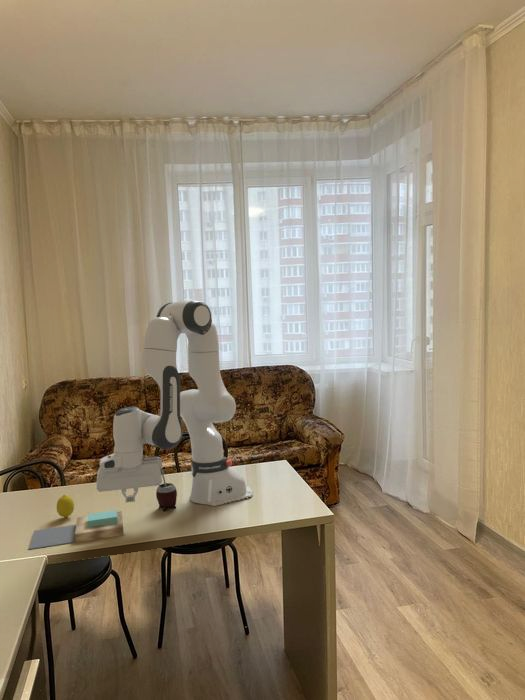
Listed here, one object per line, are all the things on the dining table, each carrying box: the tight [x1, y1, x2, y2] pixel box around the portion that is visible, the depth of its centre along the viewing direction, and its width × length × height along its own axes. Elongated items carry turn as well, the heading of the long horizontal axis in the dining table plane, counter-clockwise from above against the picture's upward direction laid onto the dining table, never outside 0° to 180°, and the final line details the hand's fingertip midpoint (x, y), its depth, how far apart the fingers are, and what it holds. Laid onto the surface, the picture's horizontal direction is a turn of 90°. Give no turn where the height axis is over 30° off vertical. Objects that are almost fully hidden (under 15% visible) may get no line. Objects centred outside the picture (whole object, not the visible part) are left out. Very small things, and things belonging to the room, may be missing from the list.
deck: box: [75, 510, 125, 543], centre depth 170 cm, size 14×14×2 cm
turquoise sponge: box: [87, 509, 118, 527], centre depth 170 cm, size 9×6×2 cm, turn 106°
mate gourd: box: [155, 467, 178, 512], centre depth 186 cm, size 8×8×15 cm
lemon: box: [56, 494, 75, 519], centre depth 181 cm, size 6×6×8 cm
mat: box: [28, 523, 76, 550], centre depth 166 cm, size 13×14×1 cm
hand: (130, 501), depth 172 cm, fingers closed
